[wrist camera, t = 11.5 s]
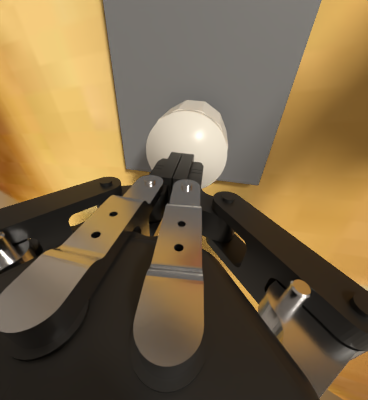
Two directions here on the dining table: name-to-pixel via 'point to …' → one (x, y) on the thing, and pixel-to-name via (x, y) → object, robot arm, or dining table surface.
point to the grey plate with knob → (207, 69)
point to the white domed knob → (191, 137)
